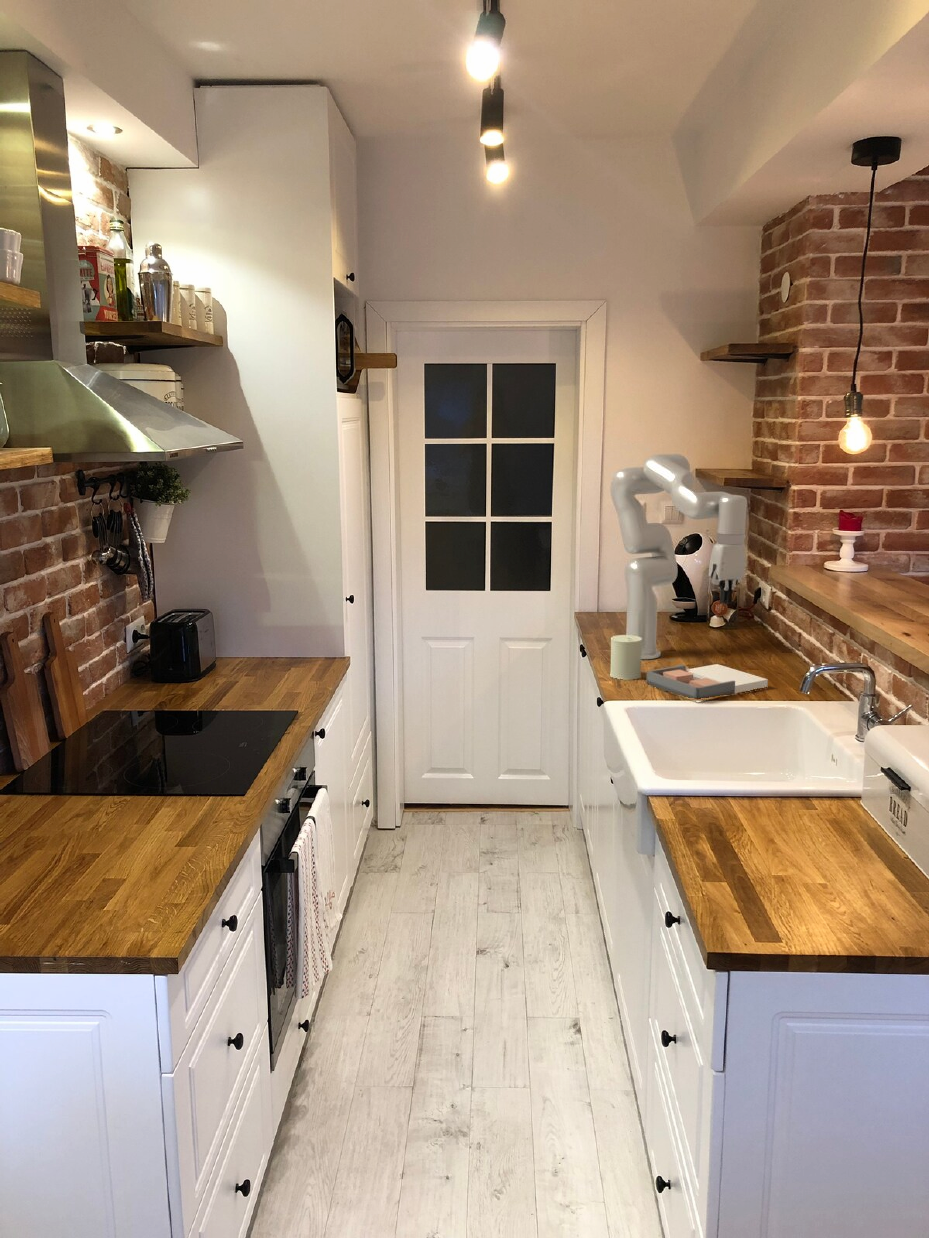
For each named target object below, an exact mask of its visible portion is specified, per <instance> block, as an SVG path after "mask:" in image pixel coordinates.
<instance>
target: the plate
mask: <svg viewBox="0 0 929 1238" xmlns="http://www.w3.org/2000/svg"><path fill="white" fill-rule="evenodd" d="M686 672H688V673H691V674H693V676H694V677H697V678H700V679H704V678H708V679H711V680H713V681H716V682H719V683H723V682H728V681H735V693H738V692H742V691H750V690H753V689H757V688H764V687H767V688H768V683H769V679H767V678H764V677H761V676H757V675H754V674H751V673H748V672H745V671H741V670H739V669H734V668H733V667H732V668H731V667H729V666H725V665H721V664H718V663H715V664H711V665H705V666H704V665H703V666H698V667H694V668H688V669H686ZM750 692H751V691H750Z"/></svg>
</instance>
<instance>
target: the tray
mask: <svg viewBox="0 0 929 1238" xmlns="http://www.w3.org/2000/svg"><path fill="white" fill-rule="evenodd" d="M686 668H687V666H686V664H681V665H680V664H679V665H675V666H669V667H664V668H663V667H662V668H659V669H653V670H647V671H646V683H645V684H648V685H651V686H653V687H652V688H654V687H656V688H655V689H657V688H660V689H662V690H664V691H663V692H665V691H669V692H672V693H675V694H677V695H682V696H684V697H688V698H694V699H701V698H709V697H715V696H720V695H732V694H735V681H728V682H723V683H717V684H712V685H707V686H702V687H695V686H692V685H690V682H684V683H683V682H680V681H677V680H674V679H671V678H668V677H665V676H663V672H667V671H673V670H683V671H686V670H687V669H686ZM698 679H700V678H697V677H694V676H693V680H698ZM648 685H647V686H648ZM651 686H650V687H651ZM662 690H661V691H662ZM735 695H736V694H735ZM732 696H733V695H732Z"/></svg>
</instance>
